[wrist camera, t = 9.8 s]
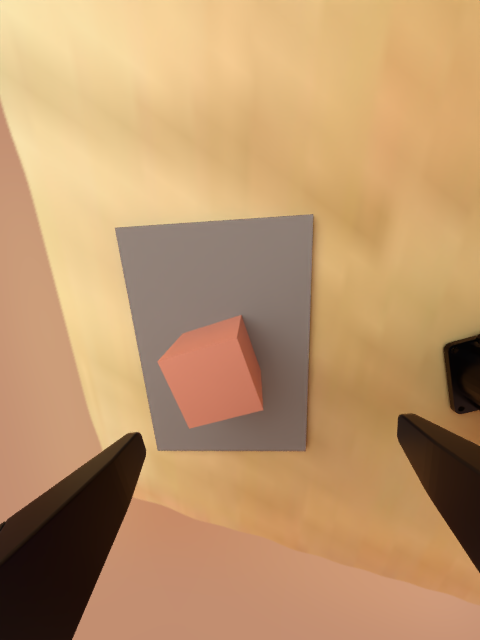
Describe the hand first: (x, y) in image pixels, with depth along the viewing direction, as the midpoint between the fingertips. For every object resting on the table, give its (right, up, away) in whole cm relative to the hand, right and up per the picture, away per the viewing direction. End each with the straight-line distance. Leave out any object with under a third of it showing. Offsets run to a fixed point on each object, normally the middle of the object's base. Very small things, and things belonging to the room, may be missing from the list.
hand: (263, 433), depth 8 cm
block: (-2, +1, +10) cm, 11 cm away
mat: (-2, +1, +11) cm, 11 cm away
